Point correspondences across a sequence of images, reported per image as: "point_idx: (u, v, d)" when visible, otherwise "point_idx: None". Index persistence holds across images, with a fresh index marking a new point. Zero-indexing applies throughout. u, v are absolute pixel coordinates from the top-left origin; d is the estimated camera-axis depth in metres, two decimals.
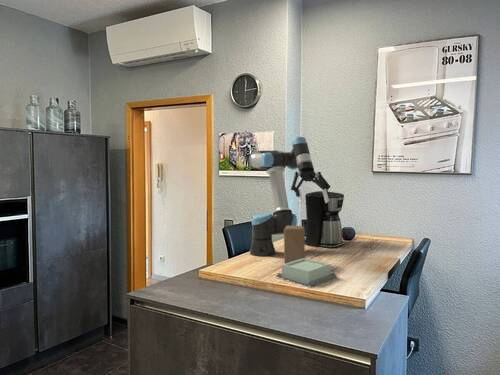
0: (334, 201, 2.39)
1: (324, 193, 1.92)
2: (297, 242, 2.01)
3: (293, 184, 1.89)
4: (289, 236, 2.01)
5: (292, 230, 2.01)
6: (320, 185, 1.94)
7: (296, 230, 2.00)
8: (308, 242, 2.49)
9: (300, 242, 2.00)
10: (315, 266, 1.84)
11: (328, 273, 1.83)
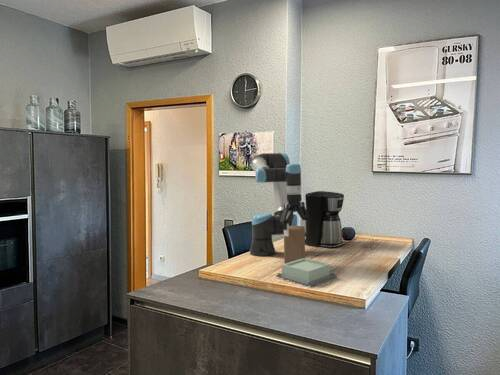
0: (334, 201, 2.39)
1: (303, 224, 2.09)
2: (297, 242, 2.00)
3: (284, 219, 1.97)
4: (289, 236, 2.01)
5: (292, 230, 2.01)
6: (301, 215, 2.08)
7: (296, 230, 2.00)
8: (308, 242, 2.49)
9: (300, 243, 2.00)
10: (315, 266, 1.84)
11: (328, 273, 1.83)
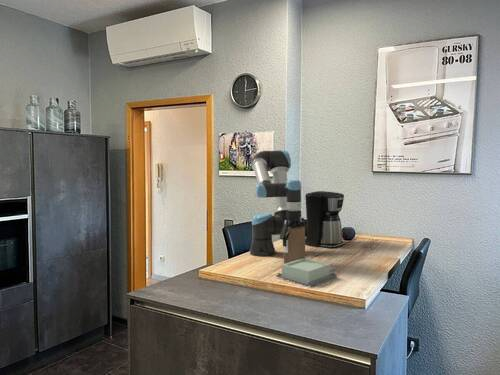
0: (334, 201, 2.39)
1: None
2: (296, 242, 2.00)
3: (284, 235, 1.98)
4: (289, 236, 2.01)
5: (291, 230, 2.01)
6: None
7: (295, 230, 2.00)
8: (308, 242, 2.49)
9: (299, 242, 2.00)
10: (315, 266, 1.84)
11: (328, 273, 1.83)
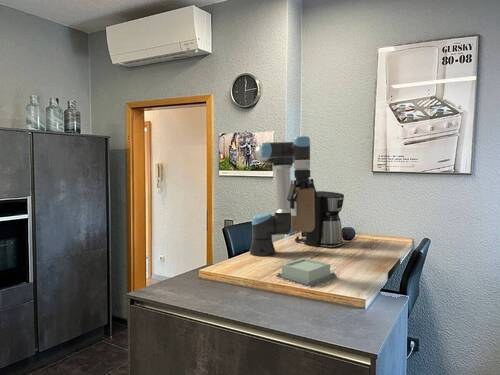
0: (334, 201, 2.39)
1: None
2: (305, 204, 1.81)
3: (291, 196, 1.79)
4: (297, 197, 1.82)
5: (300, 191, 1.82)
6: None
7: (304, 190, 1.81)
8: (308, 242, 2.49)
9: (309, 204, 1.81)
10: (315, 266, 1.84)
11: (328, 273, 1.83)
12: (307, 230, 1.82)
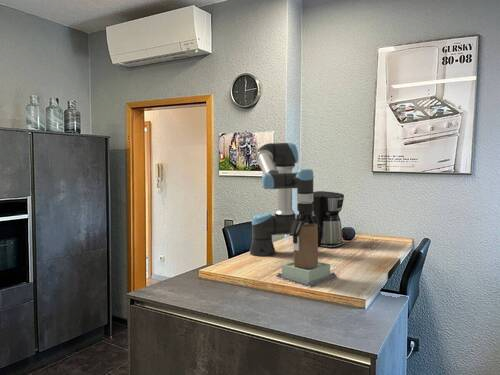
0: (334, 201, 2.39)
1: None
2: (308, 241, 1.78)
3: (294, 231, 1.76)
4: (300, 234, 1.79)
5: (302, 228, 1.79)
6: None
7: (307, 228, 1.78)
8: None
9: (311, 242, 1.78)
10: None
11: (328, 273, 1.83)
12: (310, 268, 1.79)
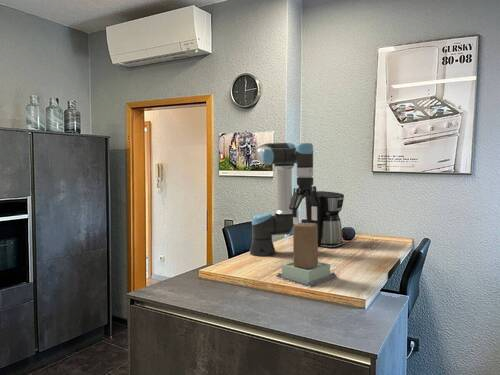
0: (334, 201, 2.39)
1: (314, 211, 1.87)
2: (308, 241, 1.78)
3: (294, 205, 1.75)
4: (299, 234, 1.79)
5: (302, 228, 1.79)
6: (312, 201, 1.86)
7: (306, 228, 1.78)
8: None
9: (311, 242, 1.78)
10: None
11: (328, 273, 1.83)
12: (309, 268, 1.79)
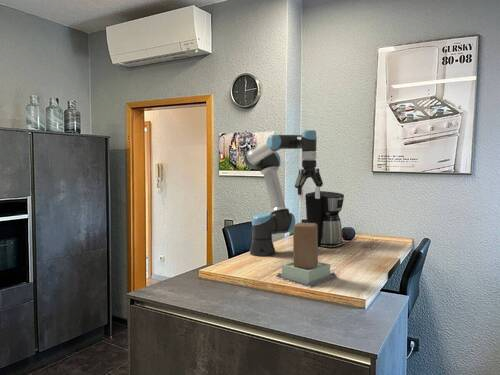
0: (334, 201, 2.39)
1: (317, 190, 2.13)
2: (308, 241, 1.78)
3: (299, 183, 2.01)
4: (299, 234, 1.79)
5: (302, 228, 1.79)
6: (316, 182, 2.12)
7: (306, 228, 1.78)
8: None
9: (311, 242, 1.78)
10: None
11: (328, 273, 1.83)
12: (309, 268, 1.79)
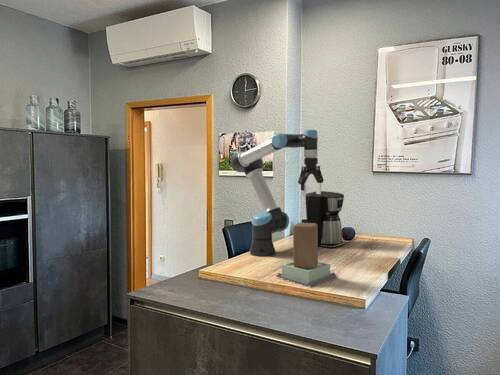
0: (334, 201, 2.39)
1: (318, 186, 2.26)
2: (308, 241, 1.78)
3: (302, 179, 2.14)
4: (299, 234, 1.79)
5: (302, 228, 1.79)
6: (317, 178, 2.25)
7: (306, 228, 1.78)
8: None
9: (311, 242, 1.78)
10: None
11: (328, 273, 1.83)
12: (309, 268, 1.79)
